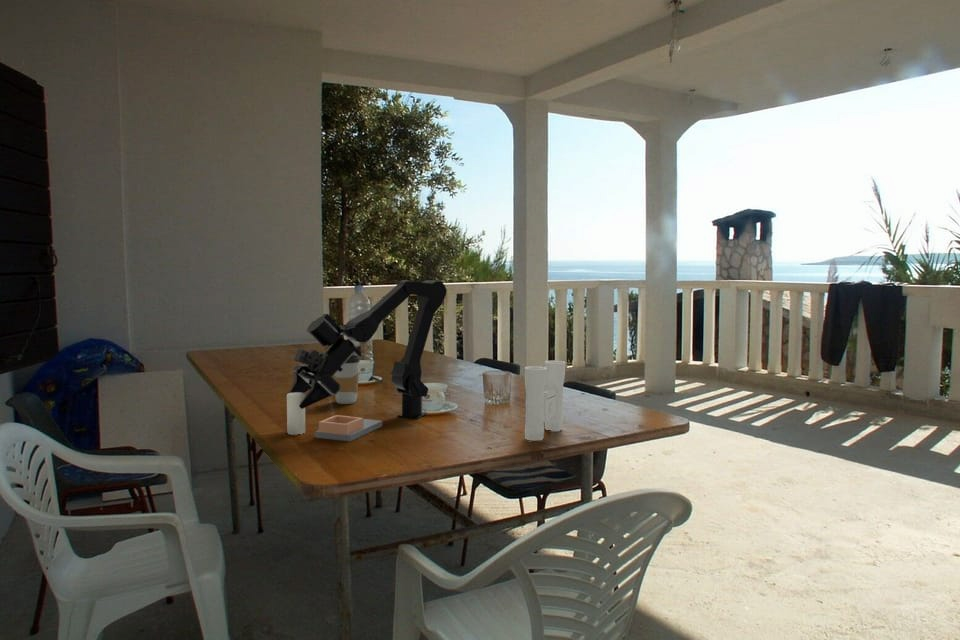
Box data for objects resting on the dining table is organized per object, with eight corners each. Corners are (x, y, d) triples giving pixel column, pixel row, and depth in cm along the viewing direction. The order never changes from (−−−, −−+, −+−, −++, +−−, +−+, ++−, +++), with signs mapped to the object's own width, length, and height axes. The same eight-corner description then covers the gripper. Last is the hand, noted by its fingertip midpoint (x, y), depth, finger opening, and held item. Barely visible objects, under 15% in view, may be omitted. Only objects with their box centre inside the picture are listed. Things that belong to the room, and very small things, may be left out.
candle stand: (349, 422, 180) (349, 408, 179) (382, 426, 176) (382, 411, 176) (315, 437, 165) (315, 421, 164) (350, 441, 161) (350, 425, 161)
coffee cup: (356, 405, 202) (356, 356, 201) (329, 404, 202) (329, 355, 201) (362, 399, 210) (362, 352, 209) (336, 398, 210) (335, 352, 209)
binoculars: (539, 443, 161) (540, 370, 160) (519, 440, 164) (520, 368, 163) (567, 428, 176) (568, 361, 175) (548, 425, 179) (549, 359, 177)
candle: (294, 429, 172) (293, 391, 171) (308, 431, 170) (308, 393, 169) (283, 433, 168) (283, 394, 167) (298, 435, 166) (297, 396, 165)
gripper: (300, 334, 177) (259, 378, 172) (328, 341, 162) (284, 390, 157) (328, 361, 182) (289, 405, 177) (357, 370, 167) (316, 419, 162)
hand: (293, 404), depth 168 cm, fingers open, 9 cm apart
